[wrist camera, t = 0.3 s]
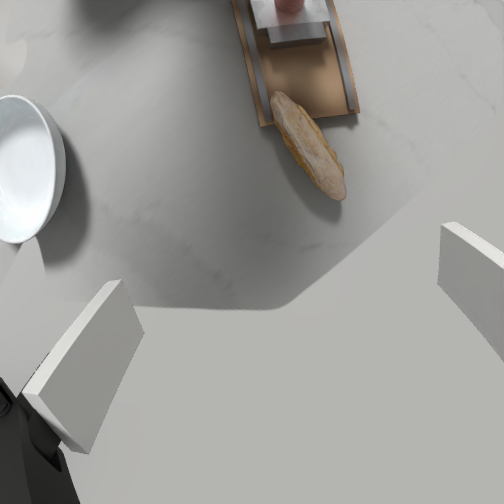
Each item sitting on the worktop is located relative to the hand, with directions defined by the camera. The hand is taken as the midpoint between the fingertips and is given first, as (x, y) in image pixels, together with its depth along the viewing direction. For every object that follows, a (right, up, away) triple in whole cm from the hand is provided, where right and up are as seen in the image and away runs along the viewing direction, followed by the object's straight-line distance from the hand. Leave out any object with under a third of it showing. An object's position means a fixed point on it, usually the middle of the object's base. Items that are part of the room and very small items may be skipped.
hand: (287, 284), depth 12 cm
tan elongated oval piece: (+7, +12, +25) cm, 29 cm away
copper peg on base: (+3, +28, +16) cm, 33 cm away
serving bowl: (-35, +15, +25) cm, 45 cm away
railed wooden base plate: (+4, +25, +19) cm, 32 cm away
